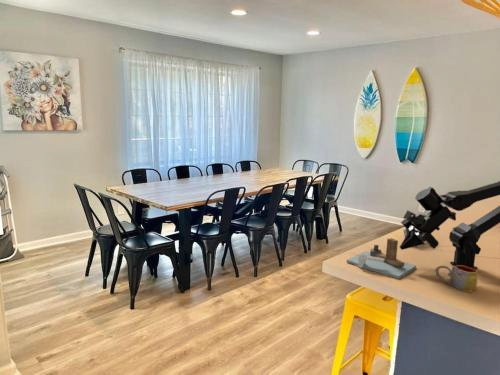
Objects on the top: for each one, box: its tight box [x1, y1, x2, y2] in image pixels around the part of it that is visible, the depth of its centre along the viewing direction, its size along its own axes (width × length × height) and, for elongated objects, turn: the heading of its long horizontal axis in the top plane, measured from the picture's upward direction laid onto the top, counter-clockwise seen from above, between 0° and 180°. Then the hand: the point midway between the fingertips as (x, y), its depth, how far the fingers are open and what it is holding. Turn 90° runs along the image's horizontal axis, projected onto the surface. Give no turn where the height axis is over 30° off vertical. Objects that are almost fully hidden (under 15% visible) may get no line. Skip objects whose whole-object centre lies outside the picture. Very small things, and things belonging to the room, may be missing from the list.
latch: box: [369, 238, 405, 267], centre depth 138 cm, size 14×4×8 cm, turn 26°
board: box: [346, 250, 417, 280], centre depth 137 cm, size 20×14×1 cm
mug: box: [435, 265, 479, 293], centre depth 121 cm, size 12×7×7 cm, turn 50°
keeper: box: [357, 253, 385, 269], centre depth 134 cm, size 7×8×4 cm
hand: (400, 248), depth 135 cm, fingers closed
